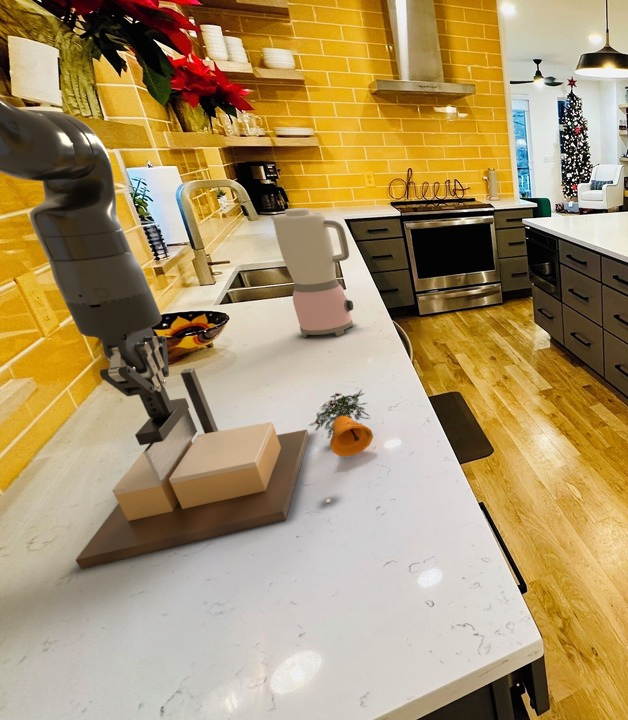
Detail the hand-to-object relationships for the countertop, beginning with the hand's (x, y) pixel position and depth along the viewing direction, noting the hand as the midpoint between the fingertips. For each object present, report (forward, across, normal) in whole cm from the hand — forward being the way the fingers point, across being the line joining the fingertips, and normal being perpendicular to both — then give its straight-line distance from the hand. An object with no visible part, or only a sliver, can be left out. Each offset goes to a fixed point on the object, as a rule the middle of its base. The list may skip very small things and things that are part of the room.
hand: (162, 414), depth 68 cm
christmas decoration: (+14, 0, +20) cm, 24 cm away
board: (+13, 0, +2) cm, 13 cm away
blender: (+13, -70, +12) cm, 72 cm away
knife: (+7, 0, 0) cm, 7 cm away
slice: (+12, 0, -3) cm, 12 cm away
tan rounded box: (+12, 0, +5) cm, 13 cm away
